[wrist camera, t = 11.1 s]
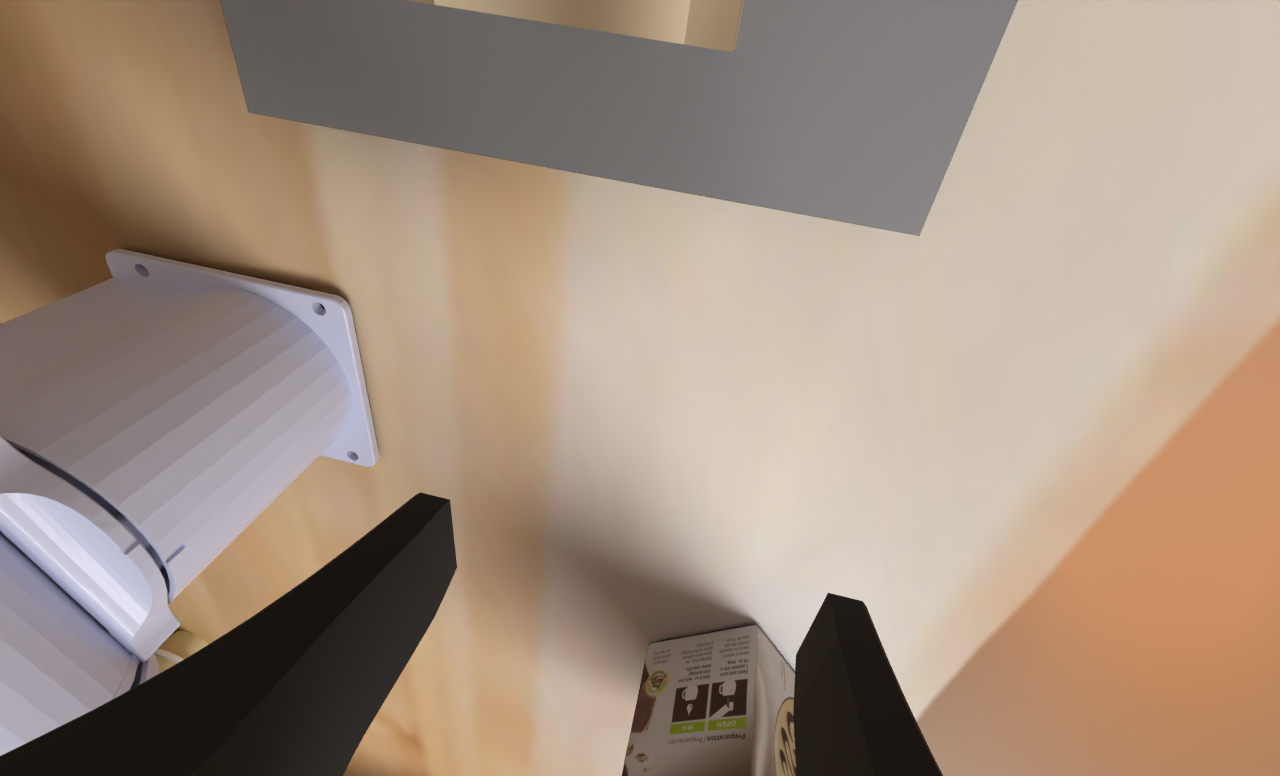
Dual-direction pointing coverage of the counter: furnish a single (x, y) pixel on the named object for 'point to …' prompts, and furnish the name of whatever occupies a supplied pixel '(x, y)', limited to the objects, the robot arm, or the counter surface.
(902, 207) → the plate
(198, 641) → the cream layered block
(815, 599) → the counter surface
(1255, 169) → the counter surface
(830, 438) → the counter surface
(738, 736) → the coffee box
